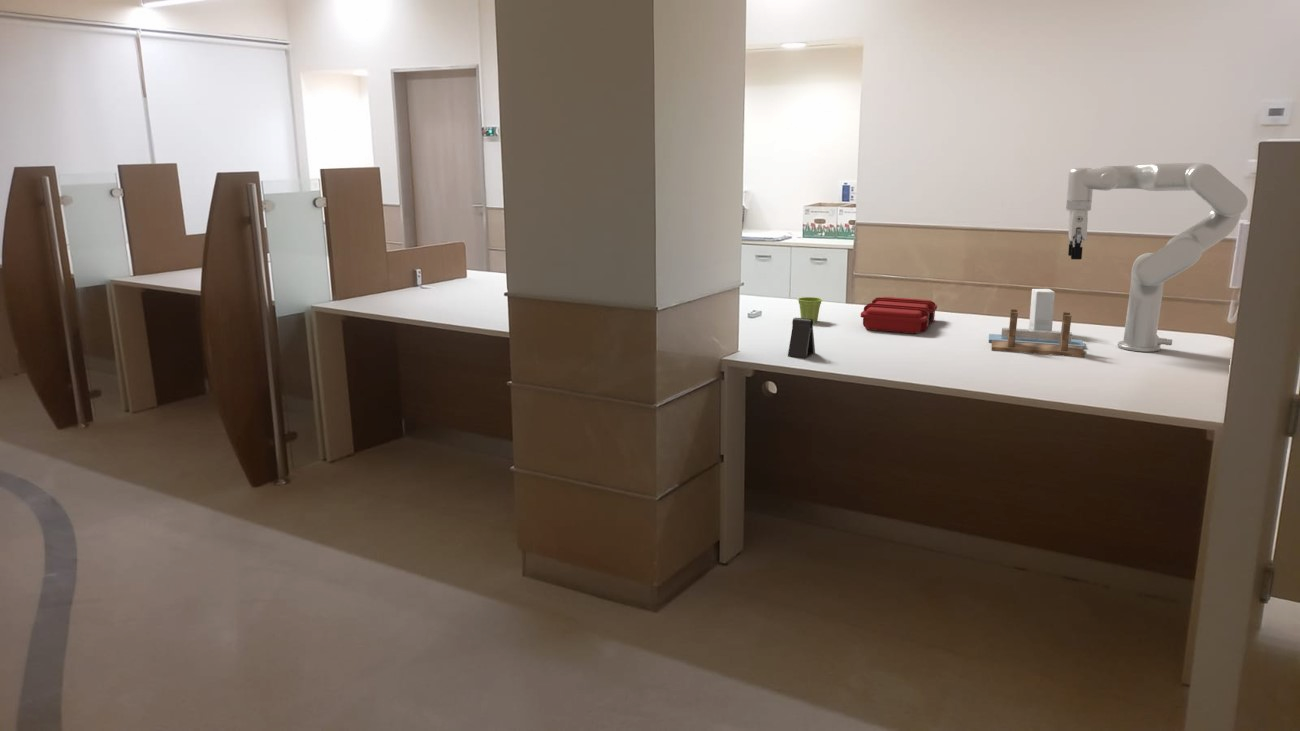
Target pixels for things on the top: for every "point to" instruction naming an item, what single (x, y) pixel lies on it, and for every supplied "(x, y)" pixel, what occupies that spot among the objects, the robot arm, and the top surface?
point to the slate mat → (1073, 342)
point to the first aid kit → (899, 314)
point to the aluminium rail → (1035, 335)
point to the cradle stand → (1039, 348)
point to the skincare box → (1041, 309)
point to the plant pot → (809, 307)
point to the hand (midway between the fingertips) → (1074, 257)
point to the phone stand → (801, 338)
